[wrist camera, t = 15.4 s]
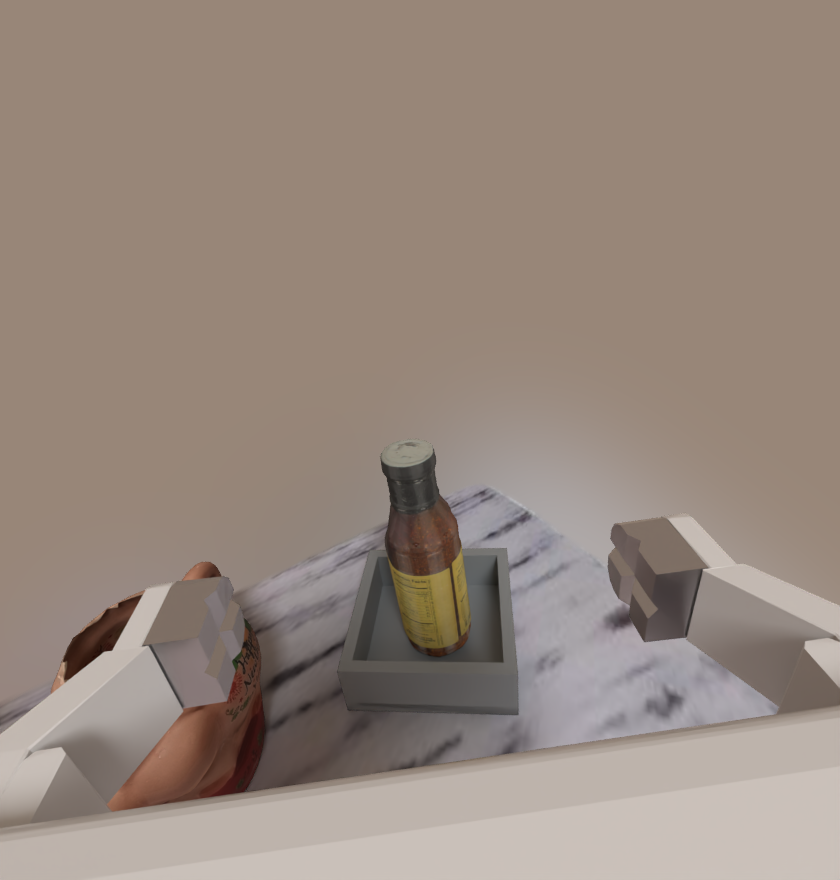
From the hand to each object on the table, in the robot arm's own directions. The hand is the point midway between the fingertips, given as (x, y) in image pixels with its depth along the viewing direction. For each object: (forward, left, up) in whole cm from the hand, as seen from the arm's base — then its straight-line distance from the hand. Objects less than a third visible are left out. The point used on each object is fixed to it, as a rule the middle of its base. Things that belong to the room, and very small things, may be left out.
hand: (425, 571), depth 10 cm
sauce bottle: (-4, +23, -30) cm, 39 cm away
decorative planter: (-22, +13, -32) cm, 41 cm away
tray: (-4, +23, -31) cm, 39 cm away
